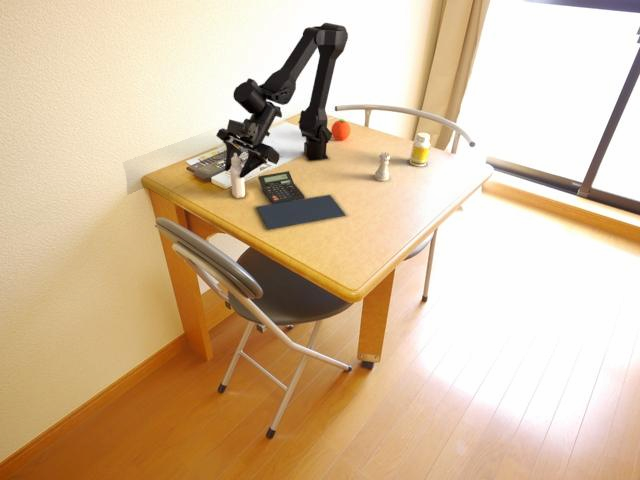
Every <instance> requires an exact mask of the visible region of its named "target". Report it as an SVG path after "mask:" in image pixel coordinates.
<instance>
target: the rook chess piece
mask: <svg viewBox="0 0 640 480" xmlns="http://www.w3.org/2000/svg"><path fill="white" fill-rule="evenodd" d="M379 159H380V160H379V161H378V162H379V166H378V168H377V169H376V171H375V172H374V178H375V180H377V181H379V182H386V181H388V180H389V179H390V172H389V170H388V165H389V163H390V162H389V160H390V159H391V156H390V153H389V152H381V153H380V155H379Z"/></svg>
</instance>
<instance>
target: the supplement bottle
mask: <svg viewBox="0 0 640 480" xmlns="http://www.w3.org/2000/svg"><path fill="white" fill-rule="evenodd" d="M430 138H431V135H430V134H429V133H427V132H418V133H417V135H416V139H414V140H413V142H412V147H411V154H410V157H409V163H410V164H411V165H412V166H416V167H424V166H426V164H427V160H428V157H429V152H430V147H431V143H430Z"/></svg>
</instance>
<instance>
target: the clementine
mask: <svg viewBox="0 0 640 480" xmlns="http://www.w3.org/2000/svg"><path fill="white" fill-rule="evenodd" d="M330 132H331V133H332V137H333V138H334V139H335V140H337V141H344V140H346V139H348V138H349V136H350V135H351V126H350V124H349V122H347V121H346V120H345V119H339V120H336V121H335V122H333V124H332V125H331V129H330Z"/></svg>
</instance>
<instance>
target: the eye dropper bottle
mask: <svg viewBox="0 0 640 480" xmlns="http://www.w3.org/2000/svg"><path fill="white" fill-rule="evenodd" d="M231 163H232V165H231V167H230V170H229V172H230V173H229V174H230V184H231V193H232V196H233V197H234V198H237V199H240V198H245V195H246V188H245V176H244V177H243V178H241V177H240V176H239V175H240V173H241V170H242V168H243V166H242V160H241V156H239V157H238V156H237V153H234V157H232V158H231Z"/></svg>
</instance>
